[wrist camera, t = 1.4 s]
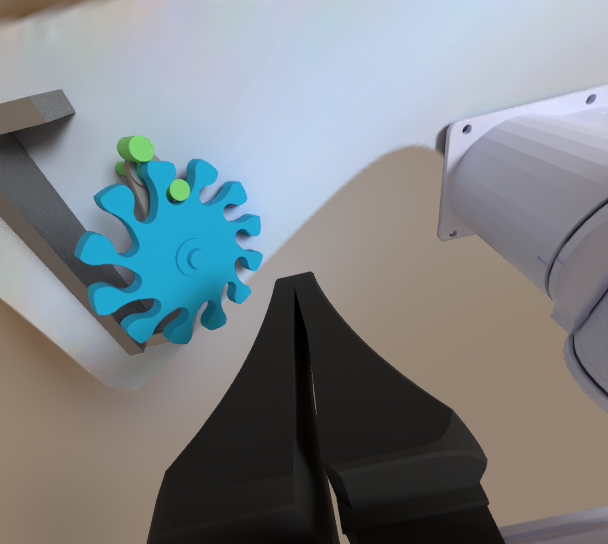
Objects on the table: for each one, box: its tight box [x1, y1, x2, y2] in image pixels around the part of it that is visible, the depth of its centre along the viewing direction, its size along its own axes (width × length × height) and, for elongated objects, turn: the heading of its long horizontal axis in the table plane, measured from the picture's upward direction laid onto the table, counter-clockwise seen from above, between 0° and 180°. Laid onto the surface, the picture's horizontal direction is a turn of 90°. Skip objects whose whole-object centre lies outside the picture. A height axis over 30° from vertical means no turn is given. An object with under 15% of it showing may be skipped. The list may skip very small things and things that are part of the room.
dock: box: [0, 89, 197, 355], centre depth 18 cm, size 4×16×3 cm, turn 12°
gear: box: [74, 136, 263, 344], centre depth 17 cm, size 11×6×10 cm
